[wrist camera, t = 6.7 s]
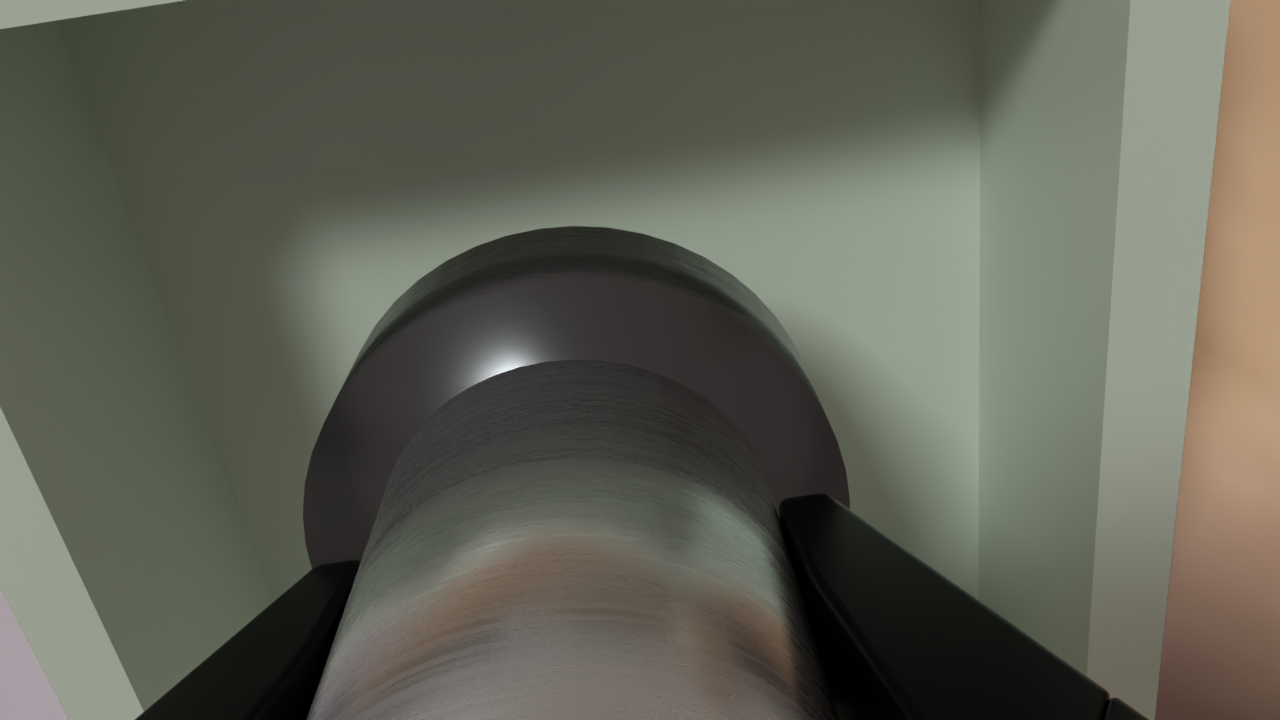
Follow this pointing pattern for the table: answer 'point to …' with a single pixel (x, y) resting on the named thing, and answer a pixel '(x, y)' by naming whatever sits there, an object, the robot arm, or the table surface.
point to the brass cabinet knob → (571, 493)
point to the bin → (596, 197)
